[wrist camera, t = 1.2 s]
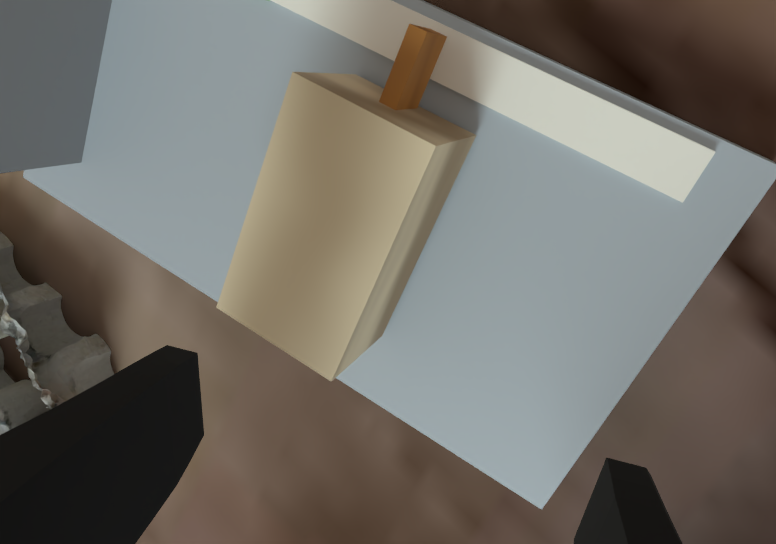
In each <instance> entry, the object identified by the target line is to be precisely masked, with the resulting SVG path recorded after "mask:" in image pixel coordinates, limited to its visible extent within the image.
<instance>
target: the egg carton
mask: <svg viewBox="0 0 776 544" xmlns="http://www.w3.org/2000/svg"><path fill="white" fill-rule="evenodd" d="M13 248H14V245H13V244H12V243H11V242H10V240H9V239H8V238H7V237H6V236H5V235H4V234H3V233H1V232H0V339H2V338H4V337H7V336H12V337H14V338H15V339H16V344H17V345H18V347H17V348H16V349H18V350H19V351H20V352H21V355H20V358H23V360H24V362H25V366H26V367H27V368H28V375H29V378H30V379H31V380H32V381H30V380H27V379H26V380H21V381H19V382H16V383H15V382H14V381H13V380H12V379H11V378H10V377H9V375H8V374H7V373H6V372H5V371H4V369H3V368H4V355H3V351H2V349H1V347H0V435H1V434H3V433H5V432H7V431H9V430H11V429H13V428H15V427H17V426H19V425H21V424H23V423H25V422H27V421H29V420H31V419H33V418H35V417H37V416H39V415H41V414H43V413H45V412H47V411H49V409H52V408H54V407H56V406H58V405H60V404H62V403H63V402H65V401H67V400H69V399H71V398H72V397H74V396H76V395H78V394H80V393H82V392H83V391H85V390H87V389H89V388H91V387H93V386H94V385H96V384H98V383H100V382H102V381H103V380H105V379H107V378H109V377H110V376H112V375H114V372H113V370H112V367H111V363H110V355H111V350H110V348H109V346H108V345H107V344H106V342H105V341H104V340H103V339H102V338H101V337H100V336H99V335H98V334H94V335H92V336H89V337H85V336H84V337H82V336H79V335H78V334H76V333H74V332H73V331H72V330H71V329H70V328H69V327H68V325H67V324H66V322H65V320H64V317H63V314H62V310H61V299H62V296H61V295H60V294H59V293H58V292H57V291H56V290H54V289H53V288H52V287H50V286H49V285H48V284H47V283H44V284H41V285H31V284H29V283H27V282H26V281H25V280H24V279H23V278H22V277H21V276H20V274H19V273H18V271H17V269H16V267H15V264H14V259H13Z"/></svg>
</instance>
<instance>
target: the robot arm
mask: <svg viewBox="0 0 776 544" xmlns="http://www.w3.org/2000/svg"><path fill="white" fill-rule="evenodd" d="M203 436H204V429H203V416H202V404H201V392H200V379H199V367H198V355H197V353H195V352H191V351H187V350H183V349H180V348H176V347H172V346H168V345H167V346H165V347H163V348H161V349H159V350H157V351H155V352H153V353H151V354H150V355H148V356H146V357H144V358H142V359H141V360H139V361H137V362H135V363H133V364H132V365H130V366H128V367H126V368H125V369H123V370H121V371H119V372H117V373H116V374H114V375H112V376H110V377H109V378H107V379H105V380H103V381H102V382H100V383H98V384H96V385H94V386H93V387H91V388H89V389H87V390H85V391H83V392H82V393H80V394H78V395H76V396H74V397H72V398H71V399H69V400H67V401H65V402H63V403H62V404H60V405H58V406H56V407H54V408H52V409H50V410H49V411H47V412H45V413H43V414H41V415H39V416H37V417H35V418H33V419H31V420H29V421H27V422H25V423H23V424H21V425H19V426H17V427H15V428H13V429H11V430H9V431H7V432H5V433H3V434H1V435H0V544H135V543H136V542H137V540H138V539H139V538H140V536H141V535H142V533H143V532H144V531H145V529H146V528H147V527H148V525H149V524H150V522H151V521H152V520H153V518H154V517H155V515H156V514H157V512H158V511H159V510H160V508H161V507H162V505H163V504H164V503H165V501H166V500H167V498H168V497H169V495H170V494H171V493H172V491H173V490H174V488H175V487H176V485H177V484H178V482H179V480H180V478H181V477H182V475H183V473H184V471H185V469H186V468H187V466H188V464H189V462H190V460H191V459H192V457H193V455H194V453H195V451H196V449H197V447H198V445H199V443H200V441H201V440H202V438H203ZM574 544H682V542H681V540H680V537H679V535H678V533H677V531H676V529H675V527H674V525H673V523H672V521H671V519H670V517H669V514H668V512H667V510H666V508H665V506H664V504H663V501H662V499H661V497H660V495H659V493H658V490H657V488H656V486H655V484H654V481H653V479H652V477H651V475H650V473H649V472H648V470H647V469H646V468H645V467H641V466H637V465H633V464H629V463H625V462H621V461H617V460H614V459H610V458H606V460H605V463H604V465H603V468H602V470H601V473H600V475H599V478H598V480H597V483H596V485H595V488H594V490H593V493H592V495H591V498H590V500H589V503H588V505H587V508H586V510H585V513H584V515H583V518H582V520H581V523H580V525H579V528H578V530H577V533H576V535H575V538H574Z"/></svg>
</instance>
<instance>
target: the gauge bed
mask: <svg viewBox="0 0 776 544" xmlns="http://www.w3.org/2000/svg"><path fill="white" fill-rule="evenodd" d="M409 24H413V25H417V26H421V27H425V28H429V29H432V30H434V31H436V32H438V33H441V34H443V35H445V36H447V38H446V41H445V43H444V46H443V48H442V50H441V53H440V55H439V58H438V60H437V62H436V65H435V67H434V69H433V72H432V74H431V77H430V79H429V81H428V84H427V86H426V89H425V91H424V93H423V96H422V98H421V100H420V103H419V105H418V106H420V107H422V108H423V109H425V110H427V111H429V112H431V113H433V114H435V115H437V116H439V117H441V118H443V119H445V120H447V121H449V122H451V123H453V124H455V125H457V126H459V127H461V128H463V129H465V130H467V131H469V132H471V133H473V134H475V135H476V137H475V140H474V142H473V144H472V146H471V148H470V150H469V152H468V154H467V157H466V159H465V161H464V163H463V165H462V167H461V169H460V171H459V174H458V176H457V178H456V180H455V182H454V184H453V186H452V188H451V191H450V193H449V195H448V197H447V199H446V201H445V203H444V205H443V208H442V210H441V212H440V214H439V216H438V218H437V220H436V222H435V225H434V227H433V229H432V231H431V233H430V235H429V237H428V239H427V242H426V244H425V246H424V248H423V250H422V252H421V254H420V256H419V259H418V261H417V263H416V265H415V267H414V269H413V271H412V274H411V276H410V278H409V280H408V282H407V284H406V286H405V288H404V291H403V293H402V295H401V297H400V299H399V301H398V303H397V305H396V308H395V310H394V312H393V314H392V316H391V318H390V320H389V322H388V325H387V327H386V329H385V331H384V333H383V335H382V336H381V337H380V338H379V339H378V340H377V341H376V342H375V343H374V344H373V345H371V346H370V347H369V348H368V349H367V350H366V351H365V352H364V353H363V354H361V355H360V356H359V357H358V358H357V359H356V360H355V361H354V362H353V363H351V364H350V365H349V366H348V367H347V368H346V369H345V370H344V371H343V372H341V373H340V374H339V375H338V376H337V377H336V378H337V379H339V380H340V381H342V382H343V383H345V384H346V385H348V386H350V387H351V388H353V389H354V390H356V391H357V392H359V393H360V394H362V395H364V396H365V397H367V398H368V399H370V400H371V401H373V402H375V403H376V404H378V405H379V406H381V407H382V408H384V409H385V410H387V411H389V412H390V413H392V414H393V415H395V416H396V417H398V418H399V419H401V420H403V421H404V422H406V423H407V424H409V425H410V426H412V427H414V428H415V429H417V430H418V431H420V432H421V433H423V434H424V435H426V436H428V437H429V438H431V439H432V440H434V441H435V442H437V443H438V444H440V445H442V446H443V447H445V448H446V449H448V450H449V451H451V452H453V453H454V454H456V455H457V456H459V457H460V458H462V459H463V460H465V461H467V462H468V463H470V464H471V465H473V466H474V467H476V468H478V469H479V470H481V471H482V472H484V473H485V474H487V475H488V476H490V477H492V478H493V479H495V480H496V481H498V482H499V483H501V484H502V485H504V486H506V487H507V488H509V489H510V490H512V491H513V492H515V493H517V494H518V495H520V496H521V497H523V498H524V499H526V500H527V501H529V502H531V503H532V504H534V505H535V506H537V507H538V508H540V509H542V508H543V507H544V505H545V504H546V503H547V501H548V500H549V498H550V497H551V496H552V494H553V493H554V491H555V490H556V489H557V487H558V486H559V484H560V483H561V481H562V480H563V479H564V477H565V476H566V474H567V473H568V472H569V470H570V469H571V467H572V466H573V465H574V463H575V462H576V460H577V459H578V457H579V456H580V455H581V453H582V452H583V450H584V449H585V448H586V446H587V445H588V443H589V442H590V441H591V439H592V438H593V436H594V435H595V433H596V432H597V431H598V429H599V428H600V426H601V425H602V424H603V422H604V421H605V419H606V418H607V417H608V415H609V414H610V412H611V411H612V410H613V408H614V407H615V405H616V404H617V402H618V401H619V400H620V398H621V397H622V395H623V394H624V393H625V391H626V390H627V388H628V387H629V386H630V384H631V383H632V381H633V380H634V378H635V377H636V376H637V374H638V373H639V371H640V370H641V369H642V367H643V366H644V364H645V363H646V362H647V360H648V359H649V357H650V356H651V354H652V353H653V352H654V350H655V349H656V347H657V346H658V345H659V343H660V342H661V340H662V339H663V338H664V336H665V335H666V333H667V332H668V330H669V329H670V328H671V326H672V325H673V323H674V322H675V321H676V319H677V318H678V316H679V315H680V314H681V312H682V311H683V309H684V308H685V306H686V305H687V304H688V302H689V301H690V299H691V298H692V297H693V295H694V294H695V292H696V291H697V290H698V288H699V287H700V285H701V284H702V282H703V281H704V280H705V278H706V277H707V275H708V274H709V273H710V271H711V270H712V268H713V267H714V266H715V264H716V263H717V261H718V260H719V258H720V257H721V256H722V254H723V253H724V251H725V250H726V249H727V247H728V246H729V244H730V243H731V242H732V240H733V239H734V237H735V236H736V234H737V233H738V232H739V230H740V229H741V227H742V226H743V225H744V223H745V222H746V220H747V219H748V218H749V216H750V215H751V213H752V212H753V210H754V209H755V208H756V206H757V205H758V203H759V202H760V201H761V199H762V198H763V196H764V195H765V194H766V192H767V191H768V189H769V188H770V186H771V185H772V184H773V182H774V181H775V179H776V163H775V162H774V161H772V160H770V159H767V158H765V157H763V156H761V155H759V154H757V153H754V152H752V151H750V150H748V149H746V148H744V147H741V146H739V145H737V144H735V143H733V142H730V141H728V140H726V139H724V138H722V137H720V136H717V135H715V134H713V133H711V132H709V131H707V130H704V129H702V128H700V127H698V126H696V125H693V124H691V123H689V122H687V121H685V120H683V119H680V118H678V117H676V116H674V115H672V114H670V113H667V112H665V111H663V110H661V109H659V108H657V107H654V106H652V105H650V104H648V103H646V102H643V101H641V100H639V99H637V98H635V97H633V96H630V95H628V94H626V93H624V92H622V91H620V90H617V89H615V88H613V87H611V86H609V85H606V84H604V83H602V82H600V81H598V80H596V79H593V78H591V77H589V76H587V75H585V74H583V73H580V72H578V71H576V70H574V69H572V68H569V67H567V66H565V65H563V64H561V63H559V62H556V61H554V60H552V59H550V58H548V57H546V56H543V55H541V54H539V53H537V52H535V51H533V50H530V49H528V48H526V47H524V46H522V45H519V44H517V43H515V42H513V41H511V40H509V39H506V38H504V37H502V36H500V35H498V34H496V33H493V32H491V31H489V30H487V29H485V28H482V27H480V26H478V25H476V24H474V23H472V22H469V21H467V20H465V19H463V18H461V17H459V16H456V15H454V14H452V13H450V12H448V11H446V10H443V9H441V8H439V7H437V6H435V5H432V4H430V3H428V2H426V1H424V0H0V173H6V172H14V171H21V170H24V174H23V178H25V179H26V180H28V181H30V182H31V183H33V184H34V185H36V186H37V187H39V188H41V189H42V190H44V191H45V192H47V193H48V194H50V195H51V196H53V197H55V198H56V199H58V200H59V201H61V202H62V203H64V204H65V205H67V206H69V207H70V208H72V209H73V210H75V211H76V212H78V213H80V214H81V215H83V216H84V217H86V218H87V219H89V220H90V221H92V222H94V223H95V224H97V225H98V226H100V227H101V228H103V229H104V230H106V231H108V232H109V233H111V234H112V235H114V236H115V237H117V238H119V239H120V240H122V241H123V242H125V243H126V244H128V245H129V246H131V247H133V248H134V249H136V250H137V251H139V252H140V253H142V254H144V255H145V256H147V257H148V258H150V259H151V260H153V261H154V262H156V263H158V264H159V265H161V266H162V267H164V268H165V269H167V270H168V271H170V272H172V273H173V274H175V275H176V276H178V277H179V278H181V279H183V280H184V281H186V282H187V283H189V284H190V285H192V286H193V287H195V288H197V289H198V290H200V291H201V292H203V293H204V294H206V295H208V296H209V297H211V298H212V299H214V300H215V301H217V302H218V301H219V298H220V295H221V292H222V288H223V285H224V282H225V279H226V276H227V273H228V270H229V267H230V264H231V261H232V257H233V254H234V251H235V248H236V245H237V242H238V239H239V236H240V233H241V230H242V226H243V223H244V220H245V217H246V214H247V211H248V208H249V205H250V202H251V199H252V196H253V192H254V189H255V186H256V183H257V180H258V177H259V174H260V171H261V168H262V165H263V161H264V158H265V155H266V152H267V149H268V146H269V143H270V140H271V137H272V134H273V130H274V127H275V124H276V121H277V118H278V115H279V112H280V109H281V106H282V103H283V100H284V96H285V93H286V90H287V87H288V84H289V81H290V78H291V75H292V72H311V73H336V74H356V75H358V76H360V77H362V78H364V79H366V80H368V81H370V82H372V83H374V84H376V85H378V86H380V87H382V88H384V87H385V85H386V82H387V79H388V77H389V74H390V72H391V69H392V67H393V64H394V62H395V59H396V56H397V54H398V51H399V49H400V46H401V44H402V41H403V39H404V36H405V33H406V31H407V28H408V26H409Z"/></svg>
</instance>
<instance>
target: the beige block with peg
mask: <svg viewBox="0 0 776 544" xmlns="http://www.w3.org/2000/svg"><path fill="white" fill-rule="evenodd" d="M446 38H447V36H445V35H443V34H441V33H438V32H436V31H434V30H432V29H429V28H425V27H421V26H417V25H413V24H409V26H408V28H407V31H406V33H405V36H404V39H403V41H402V44H401V46H400V49H399V51H398V54H397V56H396V59H395V62H394V64H393V67H392V69H391V72H390V74H389V77H388V79H387V82H386V85H385V87H384V88H382V87H380V86H378V85H376V84H374V83H372V82H370V81H368V80H366V79H364V78H362V77H360V76H358V75H356V74H336V73H311V72H292V75H291V78H290V81H289V84H288V87H287V90H286V93H285V96H284V100H283V103H282V106H281V109H280V112H279V115H278V118H277V121H276V124H275V127H274V130H273V134H272V137H271V140H270V143H269V146H268V149H267V152H266V155H265V158H264V161H263V165H262V168H261V171H260V174H259V177H258V180H257V183H256V186H255V189H254V192H253V196H252V199H251V202H250V205H249V208H248V211H247V214H246V217H245V220H244V223H243V226H242V230H241V233H240V236H239V239H238V242H237V245H236V248H235V251H234V254H233V257H232V261H231V264H230V267H229V270H228V273H227V276H226V279H225V282H224V285H223V288H222V292H221V295H220V298H219V301H218V304H217V307H216V308H218V309H219V310H221V311H222V312H224V313H226V314H227V315H229V316H230V317H232V318H233V319H235V320H236V321H238V322H240V323H241V324H243V325H244V326H246V327H247V328H249V329H250V330H252V331H254V332H255V333H257V334H258V335H260V336H261V337H263V338H264V339H266V340H268V341H269V342H271V343H272V344H274V345H275V346H277V347H278V348H280V349H282V350H283V351H285V352H286V353H288V354H289V355H291V356H292V357H294V358H296V359H297V360H299V361H300V362H302V363H303V364H305V365H306V366H308V367H309V368H311V369H313V370H314V371H316V372H317V373H319V374H320V375H322V376H323V377H325V378H327V379H328V380H330V381H333V380H334V379H335V378H336V377H337V376H338V375H339V374H340V373H341V372H343V371H344V370H345V369H346V368H347V367H348V366H349V365H350V364H351V363H353V362H354V361H355V360H356V359H357V358H358V357H359V356H360V355H361V354H363V353H364V352H365V351H366V350H367V349H368V348H369V347H370V346H371V345H373V344H374V343H375V342H376V341H377V340H378V339H379V338H380V337H381V336H382V335H383V333H384V331H385V329H386V327H387V325H388V322H389V320H390V318H391V316H392V314H393V312H394V310H395V308H396V305H397V303H398V301H399V299H400V297H401V295H402V293H403V291H404V288H405V286H406V284H407V282H408V280H409V278H410V276H411V274H412V271H413V269H414V267H415V265H416V263H417V261H418V259H419V256H420V254H421V252H422V250H423V248H424V246H425V244H426V242H427V239H428V237H429V235H430V233H431V231H432V229H433V227H434V225H435V222H436V220H437V218H438V216H439V214H440V212H441V210H442V208H443V205H444V203H445V201H446V199H447V197H448V195H449V193H450V191H451V188H452V186H453V184H454V182H455V180H456V178H457V176H458V174H459V171H460V169H461V167H462V165H463V163H464V161H465V159H466V157H467V154H468V152H469V150H470V148H471V146H472V144H473V142H474V140H475V137H476V135H475V134H473V133H471V132H469V131H467V130H465V129H463V128H461V127H459V126H457V125H455V124H453V123H451V122H449V121H447V120H445V119H443V118H441V117H439V116H437V115H435V114H433V113H431V112H429V111H427V110H425V109H423V108H422V107H420V106H418V105H419V103H420V100H421V98H422V96H423V93H424V91H425V89H426V86H427V84H428V81H429V79H430V77H431V74H432V72H433V69H434V67H435V65H436V62H437V60H438V58H439V55H440V53H441V50H442V48H443V46H444V43H445V41H446Z"/></svg>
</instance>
